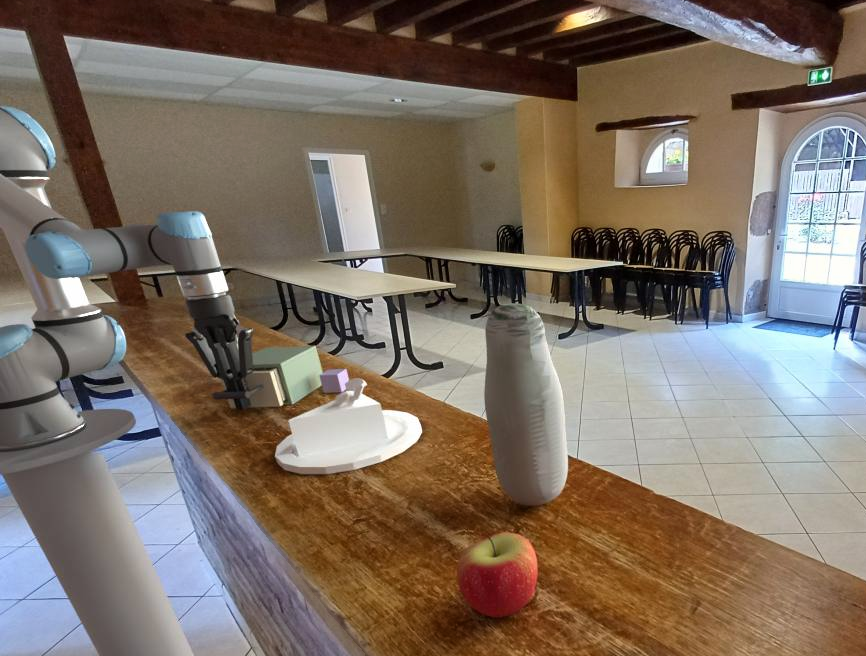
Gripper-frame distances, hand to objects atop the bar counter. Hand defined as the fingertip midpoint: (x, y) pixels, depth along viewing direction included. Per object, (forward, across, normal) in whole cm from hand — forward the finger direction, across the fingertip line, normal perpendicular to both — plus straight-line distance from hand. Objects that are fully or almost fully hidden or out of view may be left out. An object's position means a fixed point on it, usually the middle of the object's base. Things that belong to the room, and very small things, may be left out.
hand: (244, 407), depth 117 cm
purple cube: (+2, +12, +16) cm, 20 cm away
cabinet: (+2, 0, +14) cm, 14 cm away
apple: (+3, +68, -59) cm, 89 cm away
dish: (+2, +30, -15) cm, 34 cm away
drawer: (+1, 0, +7) cm, 7 cm away
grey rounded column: (+3, +68, -37) cm, 77 cm away
